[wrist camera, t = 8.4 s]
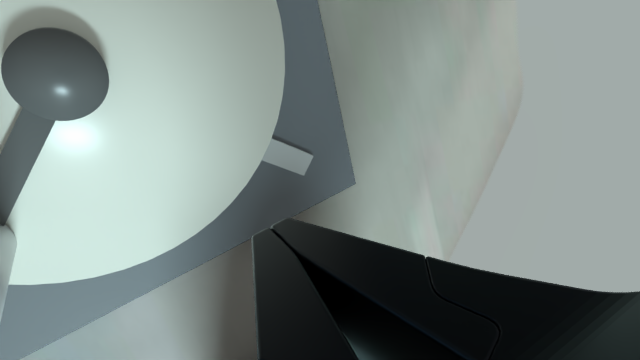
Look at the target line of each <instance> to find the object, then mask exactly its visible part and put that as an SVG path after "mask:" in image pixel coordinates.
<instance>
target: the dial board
mask: <svg viewBox="0 0 640 360" xmlns="http://www.w3.org/2000/svg"><path fill="white" fill-rule="evenodd" d="M276 2H277V6H278V9H279V13H280V17H281V24H282V31H283V39H284V48H285V77H284V88H283V97H282V102H281V107H280V111H279V116H278V121H277V123H276V126H275V129H274V132H273V135H272V138H271V141H270V144H269V146H268V148H267V150H266V152H265V154H264V156H263V158H262V160H261V162H260V164H259V166H258V167H257V169H256V171H255V172H254V174H253V175H252V177H251V178H250V180H249V182H248V183H247V185H246V186H245V187H244V188H243V190H242V191H241V192H240V193H239V194H238V196H237V197H236V198H235V199H234V201H233V202H232V203H231V204H230V205H229V206H228V207H227V208H226V209H225V210H224V211H223V212H222V213H221V214H220V215H219V216H218V217H217V218H216V219H215V220H213V221H212V222H211V223H209V224H208V225H207V226H206V227H204V228H203V229H202V230H201V231H199V232H198V233H197V234H195V235H194V236H192V237H191V238H189V239H188V240H186V241H184V242H183V243H181V244H180V245H178V246H176V247H175V248H173V249H171V250H169V251H167V252H165V253H163V254H161V255H159V256H157V257H155V258H153V259H151V260H148V261H146V262H143V263H140V264H138V265H135V266H132V267H130V268H127V269H124V270H121V271H117V272H113V273H109V274H106V275H102V276H98V277H94V278H88V279H82V280H76V281H70V282H64V283H51V284H37V285H8V290H7V294H6V299H5V304H4V308H3V313H2V318H1V322H0V360H20V359H22V358H23V357H25V356H27V355H29V354H31V353H33V352H35V351H37V350H39V349H41V348H43V347H44V346H46V345H48V344H50V343H52V342H54V341H56V340H58V339H60V338H62V337H64V336H65V335H67V334H69V333H71V332H73V331H75V330H77V329H79V328H81V327H83V326H85V325H87V324H88V323H90V322H92V321H94V320H96V319H98V318H100V317H102V316H104V315H106V314H108V313H109V312H111V311H113V310H115V309H117V308H119V307H121V306H123V305H125V304H127V303H129V302H130V301H132V300H134V299H136V298H138V297H140V296H142V295H144V294H146V293H148V292H150V291H151V290H153V289H155V288H157V287H159V286H161V285H163V284H165V283H167V282H169V281H171V280H173V279H174V278H176V277H178V276H180V275H182V274H184V273H186V272H188V271H190V270H192V269H194V268H195V267H197V266H199V265H201V264H203V263H205V262H207V261H209V260H211V259H213V258H215V257H216V256H218V255H220V254H222V253H224V252H226V251H228V250H230V249H232V248H234V247H236V246H237V245H239V244H241V243H243V242H245V241H247V240H249V239H251V238H252V236H253V235H254V234H256V233H258V232H260V231H262V230H264V229H266V228H271V226H272V225H273V224H275V223H277V222H279V221H281V220H283V219H285V218H291V217H293V216H295V215H297V214H299V213H301V212H302V211H304V210H306V209H308V208H310V207H312V206H314V205H316V204H318V203H320V202H322V201H323V200H325V199H327V198H329V197H331V196H333V195H335V194H337V193H339V192H341V191H343V190H345V189H346V188H348V187H350V186H352V185H354V184H356V182H355V178H354V173H353V168H352V163H351V159H350V154H349V149H348V144H347V139H346V135H345V130H344V125H343V120H342V116H341V111H340V106H339V101H338V97H337V92H336V87H335V82H334V78H333V73H332V68H331V63H330V58H329V54H328V49H327V44H326V39H325V35H324V30H323V25H322V20H321V16H320V11H319V6H318V1H317V0H276Z"/></svg>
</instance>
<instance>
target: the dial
mask: <svg viewBox="0 0 640 360" xmlns="http://www.w3.org/2000/svg"><path fill="white" fill-rule="evenodd" d="M284 77H285V48H284V39H283V31H282V24H281V17H280V13H279V9H278V6H277V2H276V0H0V322H1V318H2V313H3V308H4V304H5V299H6V294H7V290H8V285H37V284H51V283H64V282H70V281H76V280H82V279H88V278H94V277H98V276H102V275H106V274H109V273H113V272H117V271H121V270H124V269H127V268H130V267H132V266H135V265H138V264H140V263H143V262H146V261H148V260H151V259H153V258H155V257H157V256H159V255H161V254H163V253H165V252H167V251H169V250H171V249H173V248H175V247H176V246H178V245H180V244H181V243H183V242H184V241H186V240H188V239H189V238H191V237H192V236H194V235H195V234H197V233H198V232H199V231H201V230H202V229H203V228H204V227H206V226H207V225H208V224H209V223H211V222H212V221H213V220H215V219H216V218H217V217H218V216H219V215H220V214H221V213H222V212H223V211H224V210H225V209H226V208H227V207H228V206H229V205H230V204H231V203H232V202H233V201H234V199H235V198H236V197H237V196H238V194H239V193H240V192H241V191H242V190H243V188H244V187H245V186H246V185H247V183H248V182H249V180H250V178H251V177H252V175H253V174H254V172H255V171H256V169H257V167H258V166H259V164H260V162H261V160H262V158H263V156H264V154H265V152H266V150H267V148H268V146H269V144H270V141H271V138H272V135H273V132H274V129H275V126H276V123H277V121H278V116H279V111H280V107H281V102H282V97H283V88H284Z"/></svg>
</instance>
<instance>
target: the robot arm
mask: <svg viewBox="0 0 640 360" xmlns="http://www.w3.org/2000/svg"><path fill="white" fill-rule="evenodd" d="M251 240H252V260H253V279H254V298H255V318H256V337H257V356H258V360H640V292H628V293H627V292H626V293H622V292H621V293H620V292H619V293H618V292H617V293H616V292H615V293H614V292H600V291H593V290H585V289H580V288H574V287H569V286H563V285H558V284H553V283H547V282H542V281H536V280H531V279H526V278H520V277H514V276H509V275H504V274H499V273H494V272H489V271H484V270H479V269H474V268H470V267H467V266H462V265H459V264H455V263H451V262H447V261H443V260H439V259H436V258H432V257H426V259H425V256H424V255H421V254H417V253H414V252H410V251H406V250H403V249H399V248H396V247H392V246H388V245H385V244H381V243H378V242H374V241H370V240H367V239H363V238H360V237H356V236H352V235H349V234H345V233H342V232H338V231H334V230H331V229H327V228H324V227H320V226H316V225H313V224H309V223H306V222H302V221H298V220H295V219H291V218H285V219H283V220H281V221H279V222H277V223H275V224H273V225H272V226H271V229H270V228H266V229H264V230H262V231H260V232H258V233H256V234H254V235H253V236H252V238H251Z"/></svg>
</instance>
